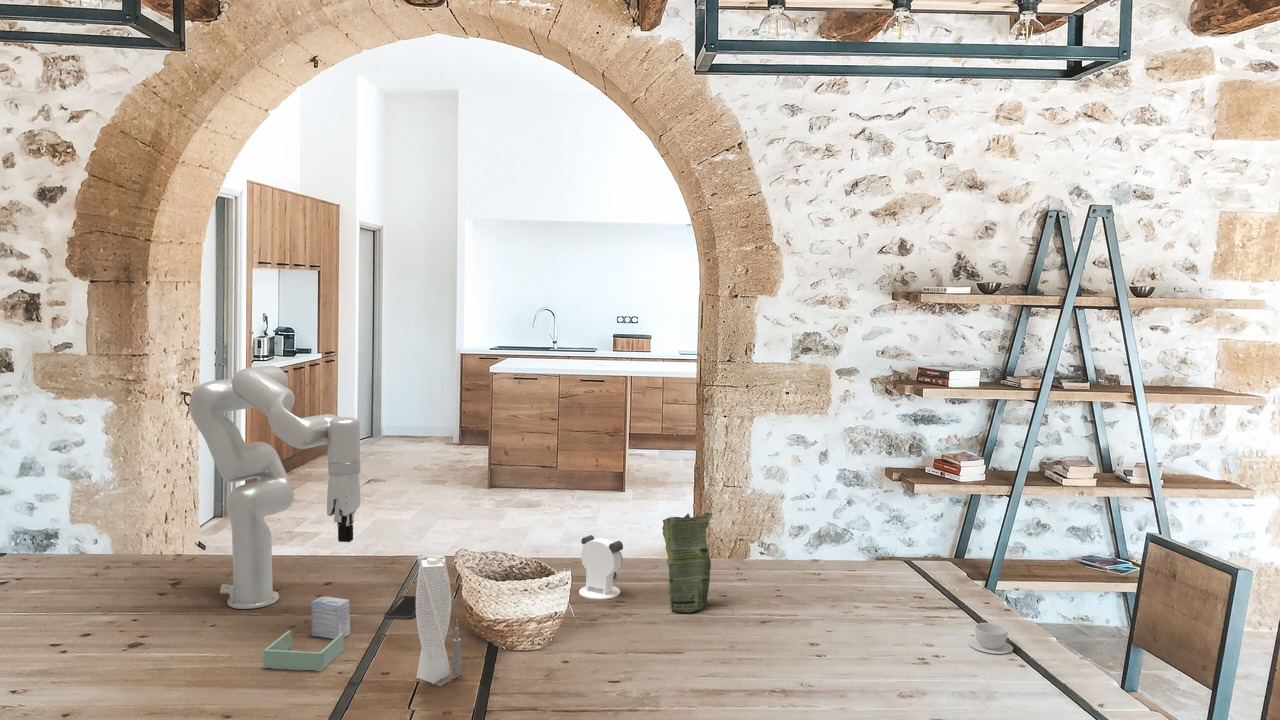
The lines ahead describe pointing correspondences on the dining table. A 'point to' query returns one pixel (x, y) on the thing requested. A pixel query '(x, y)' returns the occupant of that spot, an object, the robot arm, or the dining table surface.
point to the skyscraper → (435, 621)
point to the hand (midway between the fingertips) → (345, 540)
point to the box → (300, 655)
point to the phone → (403, 609)
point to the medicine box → (330, 617)
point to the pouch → (687, 561)
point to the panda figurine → (600, 567)
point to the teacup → (991, 639)
